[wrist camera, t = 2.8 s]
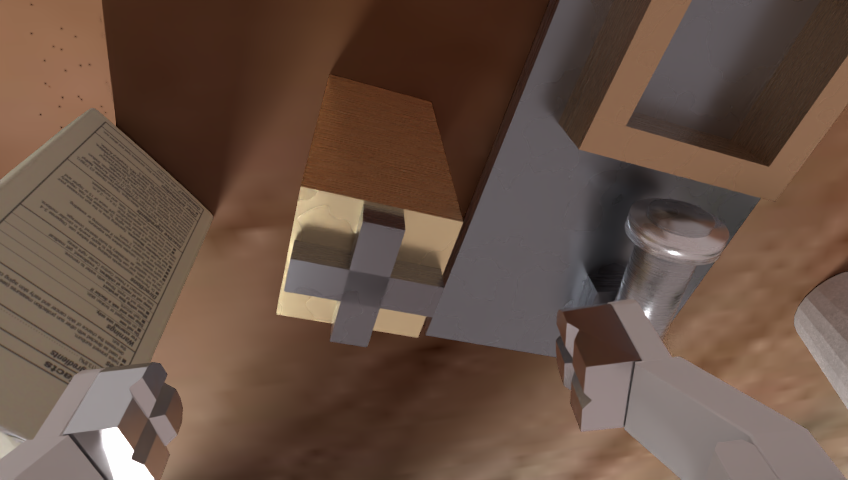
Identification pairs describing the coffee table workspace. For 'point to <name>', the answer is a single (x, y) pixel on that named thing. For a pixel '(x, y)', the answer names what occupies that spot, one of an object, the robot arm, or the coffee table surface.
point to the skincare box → (86, 265)
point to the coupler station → (634, 145)
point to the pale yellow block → (371, 216)
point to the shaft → (660, 258)
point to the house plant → (827, 330)
